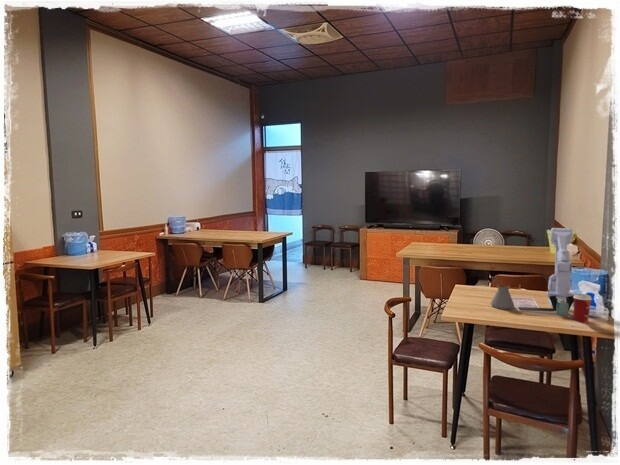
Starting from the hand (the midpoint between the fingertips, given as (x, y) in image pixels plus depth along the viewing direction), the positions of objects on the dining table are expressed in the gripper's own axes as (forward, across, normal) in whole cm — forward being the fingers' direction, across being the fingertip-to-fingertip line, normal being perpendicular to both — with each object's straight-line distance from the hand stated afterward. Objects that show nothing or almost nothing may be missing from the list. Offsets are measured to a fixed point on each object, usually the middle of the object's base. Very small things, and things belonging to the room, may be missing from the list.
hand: (560, 310), depth 220 cm
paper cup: (+3, +4, -11) cm, 12 cm away
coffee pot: (+3, -26, +14) cm, 30 cm away
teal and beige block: (+1, 0, 0) cm, 1 cm away
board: (+3, -8, 0) cm, 8 cm away
